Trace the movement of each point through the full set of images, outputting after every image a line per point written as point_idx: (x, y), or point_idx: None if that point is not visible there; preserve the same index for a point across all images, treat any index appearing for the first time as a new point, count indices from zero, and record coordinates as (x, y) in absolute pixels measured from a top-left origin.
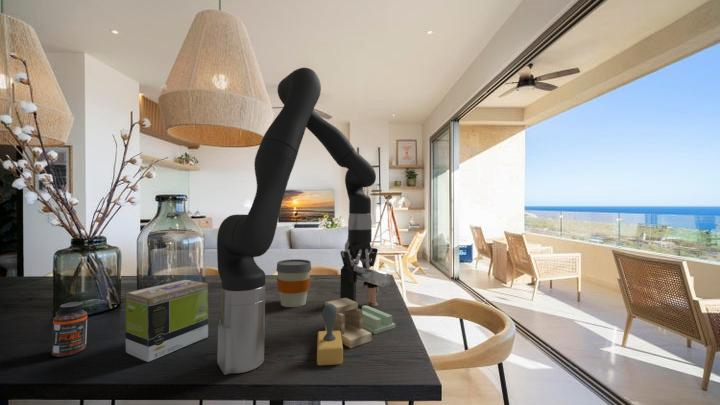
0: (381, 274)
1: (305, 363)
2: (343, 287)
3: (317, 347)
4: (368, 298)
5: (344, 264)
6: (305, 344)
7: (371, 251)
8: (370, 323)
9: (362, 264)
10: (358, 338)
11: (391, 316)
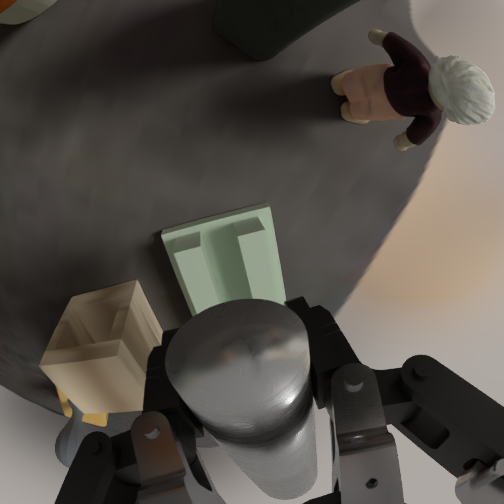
0: (275, 497)
1: (51, 385)
2: (232, 3)
3: (63, 410)
4: (352, 86)
5: (79, 475)
6: (35, 334)
7: (466, 500)
8: None
9: (334, 414)
10: None
11: None
